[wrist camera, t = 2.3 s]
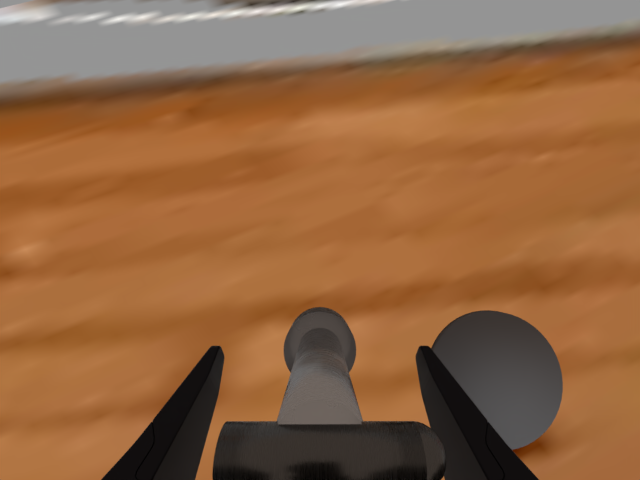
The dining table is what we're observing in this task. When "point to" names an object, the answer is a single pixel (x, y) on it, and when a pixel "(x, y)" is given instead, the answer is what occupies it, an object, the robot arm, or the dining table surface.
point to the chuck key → (325, 421)
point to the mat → (504, 372)
